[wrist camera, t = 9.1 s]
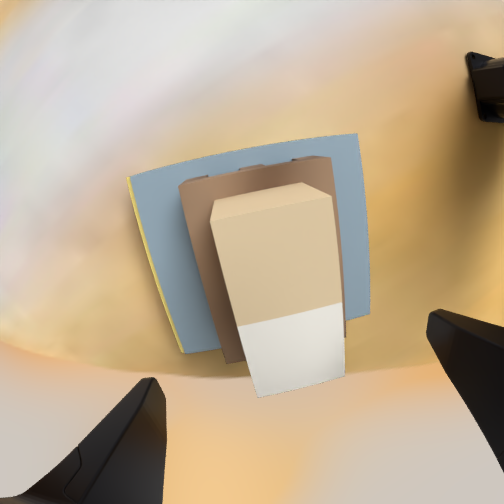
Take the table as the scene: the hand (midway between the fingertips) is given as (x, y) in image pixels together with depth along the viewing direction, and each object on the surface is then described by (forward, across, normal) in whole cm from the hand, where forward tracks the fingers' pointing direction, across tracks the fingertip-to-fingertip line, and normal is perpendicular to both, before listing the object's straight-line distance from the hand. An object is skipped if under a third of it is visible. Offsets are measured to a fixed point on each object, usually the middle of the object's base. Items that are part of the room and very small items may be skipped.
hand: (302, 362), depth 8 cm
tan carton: (+6, 0, -2) cm, 7 cm away
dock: (+12, 0, 0) cm, 13 cm away
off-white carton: (+6, 0, +2) cm, 7 cm away
